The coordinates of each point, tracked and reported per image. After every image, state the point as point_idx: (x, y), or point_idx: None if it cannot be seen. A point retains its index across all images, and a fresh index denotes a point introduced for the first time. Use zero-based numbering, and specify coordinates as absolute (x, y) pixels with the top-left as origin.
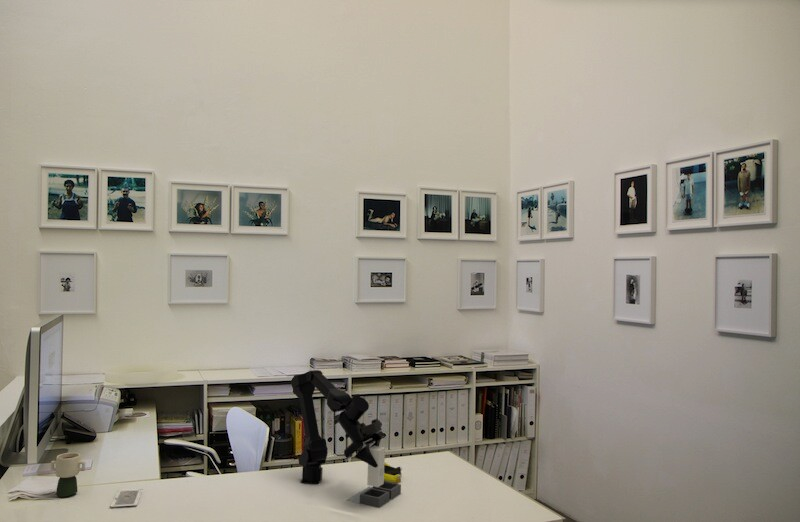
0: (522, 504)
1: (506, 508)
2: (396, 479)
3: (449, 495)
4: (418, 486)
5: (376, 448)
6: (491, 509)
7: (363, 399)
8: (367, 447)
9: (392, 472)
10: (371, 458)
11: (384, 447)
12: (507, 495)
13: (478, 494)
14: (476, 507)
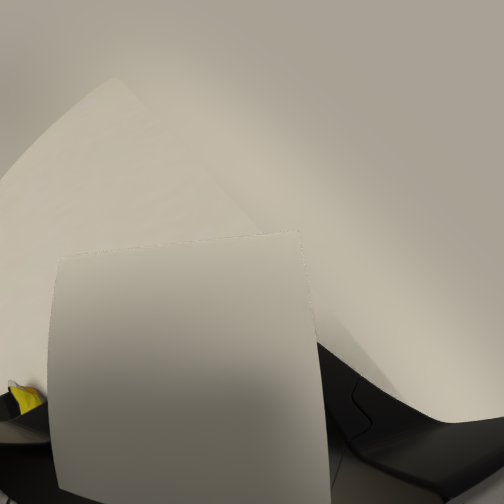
0: (79, 111)
1: (103, 112)
2: (28, 394)
3: (57, 220)
4: (23, 327)
5: (201, 371)
6: (115, 122)
7: None
8: (499, 430)
9: (4, 419)
10: (353, 374)
11: (60, 264)
12: (42, 144)
13: (42, 178)
14: (113, 141)
